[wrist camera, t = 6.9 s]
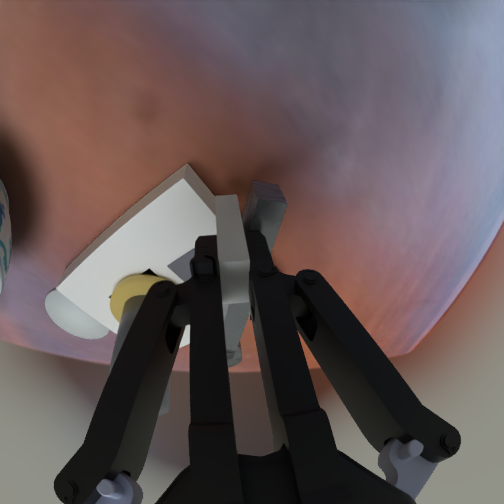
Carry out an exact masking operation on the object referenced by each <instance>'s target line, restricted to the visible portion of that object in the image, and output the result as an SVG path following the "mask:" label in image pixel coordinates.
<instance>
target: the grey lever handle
mask: <svg viewBox="0 0 504 504" xmlns="http://www.w3.org/2000/svg"><path fill="white" fill-rule="evenodd" d="M286 207H287V202H286V200H285V198H284V196H283V193H282V191H281V189H280V187H279V185H277V184H272V183H266V182H261V181H256V180H252V183H251V187H250V191H249V194H248V198H247V202H246V206H245V210H244V214H243V218H242V223H243V228H244V232H261V233H262V234H263V235H264V236H265V237H266V241H267V244H268V248H269V251H270V254H271V251H272V248H273V245H274V243H275V240H276V237H277V234H278V231H279V228H280V225H281V222H282V219H283V216H284V213H285V210H286ZM249 313H250V299H249V302H246V303H233V304H223V316H224V328H225V340H226V351H227V362H228V367H232V366H235V365H237V364H239V363H240V362H241V360H242V353H241V344H240V338H241V335H242V333H243V330H244V327H245V324H246V322H247V319H248V316H249Z"/></svg>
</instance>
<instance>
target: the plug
mask: <svg viewBox="0 0 504 504" xmlns="http://www.w3.org/2000/svg"><path fill="white" fill-rule="evenodd" d="M161 280H166V279H163V278H160V277H159V276H158V275H157V274H155V273H154V272H153V271H152V270H151V269H150V268H149V269H147V270H146V271H144V272H143V273H141V274H140V275H134V276H130V277H127V278H125V279H123V280H121V281H120V282H119V283H118V284H117V285H116V286H115V288H114V290H113V293H112V296H111V299H110V309H111V312H112V314H113V316H114V318H115V319H116V320H117V321H118V322H119V327H118V332H117V336H116V341H115V345H114V350H113V355H112V360H111V365H110V371H109V374H110V372H111V370H112V367H113V365H114V363H115V360H116V358H117V356H118V353H119V351H120V349H121V347H122V345H123V342H124V340H125V338H126V336H127V334H128V331H129V329H130V327H131V325H132V323H133V321H134V319H135V317H136V314H137V312H138V310H139V308H140V306H141V304H142V302H143V300H144V298H145V296H146V294H147V292H148V290H149V288H150V287H151V286H152V285H153V284H154V283H156V282H158V281H161ZM185 327H186V326H185ZM169 392H170V378H169V381H168V384H167V387H166V391H165V394H164V397H163V401H162V404H161V407H160V411H159V414H158V416H161V415H164V414H166V413H168V412H169V396H170V393H169Z"/></svg>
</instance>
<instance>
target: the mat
mask: <svg viewBox="0 0 504 504" xmlns="http://www.w3.org/2000/svg"><path fill="white" fill-rule="evenodd" d="M45 307H46V310H47V312H48V314H49V316H50V317H51V319H52V320H53V321H54V322H55V323H56V324H57V325H58V326H59V327H61V328H62V329H63V330H65V331H67V332H68V333H70V334H72V335H75V336H78V337H81V338H86V339H98V338H102V337H104V336H105V335H107V334H108V332H109V330H110V329H108V328H107V327H105V326H104V325H103V324H101V323H100V322H98V321H97V320H96V319H94V318H93V317H91V316H90V315H89V314H87V313H86V312H85V311H83V310H82V309H81V308H79V307H78V306H77V305H75V304H74V303H73V302H72V301H70V300H69V299H68V298H67V297H65V296H64V295H63V294H62V293H60V292H59V291H58V290H57V289H53V290H51V291H50V292H49V293H48V295H47V297H46V299H45Z"/></svg>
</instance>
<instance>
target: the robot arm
mask: <svg viewBox="0 0 504 504" xmlns="http://www.w3.org/2000/svg"><path fill="white" fill-rule="evenodd" d="M215 207H216V229H217V235H205V236H199V237H198V238H197V240H196V241H195V254H194V257H193V258H192V259H191V260H190V263H189V264H190V271H191V278H190V279H189V280H187V281H186V282H183V283H181V284H177V285H175V284H174V283H173V282H172V281H168V280H161V281H158V282H156V283H154V284H153V285H152V286H151V287H150V288H149V290H148V292H147V294H146V296H145V298H144V300H143V302H142V304H141V306H140V308H139V310H138V312H137V314H136V317H135V319H134V321H133V323H132V325H131V327H130V329H129V331H128V334H127V336H126V338H125V340H124V342H123V345H122V347H121V349H120V351H119V353H118V356H117V358H116V360H115V363H114V365H113V367H112V370H111V372H110V374H109V377H108V379H107V382H106V384H105V387H104V389H103V392H102V394H101V397H100V399H99V402H98V404H97V407H96V410H95V412H94V415H93V418H92V421H91V423H90V426H89V429H88V432H87V434H86V437H85V440H84V443H83V445H82V446H81V447H80V448H79V450H78V451H77V452H76V454H74V456H73V457H72V458H71V459H70V461H69V462H68V463H67V464H66V465H65V467H64V468H63V469H62V470H61V471H60V473H59V474H58V475H57V477H56V479H55V481H54V490H55V493H56V495H57V496H58V498H59V499H60V501H62V502H63V503H64V504H141V502H142V499H143V492H142V489H141V487H140V486H139V484H138V483H137V482H136V481H137V480H138V478H139V476H140V474H141V471H142V470H143V467H144V463H145V461H146V457H147V454H148V450H149V446H150V443H151V439H152V435H153V432H154V428H155V425H156V421H157V418H158V414H159V411H160V407H161V404H162V401H163V397H164V394H165V391H166V387H167V384H168V381H169V378H170V374H171V371H172V368H173V365H174V362H175V359H176V355H177V352H178V349H179V346H180V343H181V340H182V337H183V334H184V331H185V326H187V325H190V412H191V423H190V425H189V430H188V437H189V455H190V465H189V466H188V467H186V468H185V469H184V470H183V471H181V472H180V474H179V475H178V476H177V477H176V478H175V480H174V481H173V482H172V483H171V485H170V486H169V487H168V488H167V490H166V491H165V492H164V493H163V494H162V496H161V497H160V498H159V499H158V501H157V502H156V503H155V504H416V502H415V498H416V497H417V495H418V494H419V493H420V491H421V489H422V488H423V486H424V485H425V484H426V482H427V481H428V479H429V477H430V476H431V474H432V473H433V471H434V470H435V468H436V466H437V464H438V463H439V462H441V461H443V460H445V459H447V458H450V457H451V456H453V455H454V454H456V452H457V451H458V450H459V447H460V444H461V437H460V434H459V432H458V430H457V429H456V428H455V427H453V426H452V425H450V424H449V423H448V422H446V421H445V420H443V419H442V418H440V417H439V416H438V415H436V414H434V413H433V412H432V411H430V410H429V409H427V408H426V407H425V406H423V405H422V404H421V402H420V401H419V400H418V398H417V397H416V395H415V394H414V393H413V391H412V390H411V389H410V387H409V386H408V385H407V383H406V382H405V380H404V379H403V378H402V377H401V375H400V374H399V372H398V371H397V370H396V368H395V367H394V366H393V364H392V363H391V362H390V360H389V359H388V358H387V356H386V355H385V354H384V353H383V351H382V350H381V349H380V347H379V346H378V345H377V343H376V342H375V341H374V340H373V338H372V337H371V336H370V334H369V333H368V332H367V331H366V329H365V328H364V327H363V326H362V324H361V323H360V322H359V320H358V319H357V318H356V317H355V315H354V314H353V313H352V312H351V310H350V309H349V308H348V307H347V305H346V304H345V303H344V302H343V300H342V299H341V298H340V297H339V296H338V294H337V293H336V292H335V291H334V289H333V288H332V287H331V286H330V285H329V283H328V282H327V281H326V280H325V278H324V277H323V276H322V275H321V274H320V273H319V272H317V271H314V270H310V269H306V270H301V271H299V272H298V273H297V274H296V276H293V275H287V274H284V273H281V272H279V270H278V268H277V267H276V266H274V264H273V261H272V257H271V254H270V251H269V248H268V244H267V241H266V237H265V236H264V235H263V234H262V233H261V232H244V228H243V223H242V218H241V213H240V208H239V203H238V198H237V195H219V196H215ZM249 299H250V320H252V323H253V329H254V335H255V340H256V346H257V352H258V357H259V363H260V368H261V374H262V379H263V385H264V390H265V396H266V401H267V407H268V412H269V417H270V423H271V428H272V434H273V446H274V452H273V453H271V454H268V455H266V456H261V457H260V456H251V455H242V454H238V451H237V443H236V436H235V427H234V419H233V410H232V401H231V393H230V382H229V372H228V362H227V351H226V340H225V328H224V316H223V304H233V303H246V302H249ZM297 330H298V331H297ZM298 332H299V333H300V335H301V336H302V338H303V340H304V341H305V343H306V344H307V346H308V348H309V349H310V351H311V352H312V354H313V356H314V357H315V359H316V360H317V362H318V364H319V365H320V367H321V368H322V370H323V371H324V373H325V375H326V376H327V378H328V379H329V381H330V383H331V384H332V386H333V387H334V389H335V391H336V392H337V394H338V395H339V397H340V398H341V400H342V402H343V403H344V405H345V406H346V408H347V410H348V411H349V413H350V414H351V416H352V417H353V419H354V421H355V422H356V424H357V425H358V427H359V429H360V430H361V432H362V433H363V435H364V436H365V438H366V439H367V440H368V442H369V443H370V444H371V445H372V446H373V447H374V448H375V449H376V450H377V451H378V452H379V453H380V454H379V457H378V466H379V467H380V468H381V469H382V471H383V472H384V473H385V476H386V481H385V480H384V479H382V478H380V477H379V476H377V475H375V474H374V473H372V472H371V471H369V470H368V469H366V468H365V467H363V466H362V465H360V464H359V463H357V462H356V461H354V460H353V459H351V458H350V457H349V456H347V455H346V454H344V453H343V452H341V451H339V450H337V448H336V444H335V441H334V437H333V434H332V430H331V426H330V422H329V419H328V417H327V414H326V412H325V411H324V410H323V409H322V408H320V406H319V403H318V400H317V397H316V393H315V390H314V386H313V383H312V379H311V376H310V372H309V369H308V365H307V362H306V358H305V355H304V351H303V348H302V345H301V341H300V338H299V335H298Z"/></svg>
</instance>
